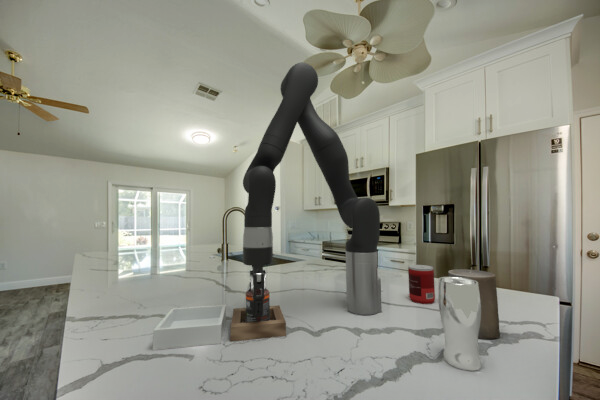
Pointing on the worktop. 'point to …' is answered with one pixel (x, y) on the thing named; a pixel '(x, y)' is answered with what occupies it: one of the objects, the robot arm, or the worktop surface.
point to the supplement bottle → (249, 306)
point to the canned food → (421, 284)
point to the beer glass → (460, 321)
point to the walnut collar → (257, 325)
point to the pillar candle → (484, 300)
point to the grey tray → (190, 327)
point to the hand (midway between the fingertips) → (257, 310)
